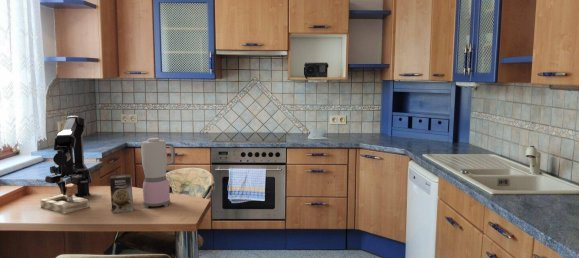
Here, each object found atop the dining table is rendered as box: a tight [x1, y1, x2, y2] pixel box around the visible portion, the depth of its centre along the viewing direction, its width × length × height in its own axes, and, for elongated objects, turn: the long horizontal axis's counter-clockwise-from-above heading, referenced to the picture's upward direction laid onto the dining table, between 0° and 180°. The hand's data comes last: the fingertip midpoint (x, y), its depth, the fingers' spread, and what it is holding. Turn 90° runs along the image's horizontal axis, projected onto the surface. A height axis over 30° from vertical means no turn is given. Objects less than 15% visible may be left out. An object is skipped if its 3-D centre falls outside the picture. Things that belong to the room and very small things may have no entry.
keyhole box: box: [39, 194, 90, 215], centre depth 217 cm, size 20×12×4 cm, turn 57°
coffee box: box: [109, 174, 134, 214], centre depth 210 cm, size 9×6×16 cm
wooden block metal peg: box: [60, 183, 78, 203], centre depth 214 cm, size 5×5×11 cm
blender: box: [139, 137, 176, 209], centre depth 216 cm, size 16×12×32 cm
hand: (69, 193), depth 214 cm, fingers open, 5 cm apart
